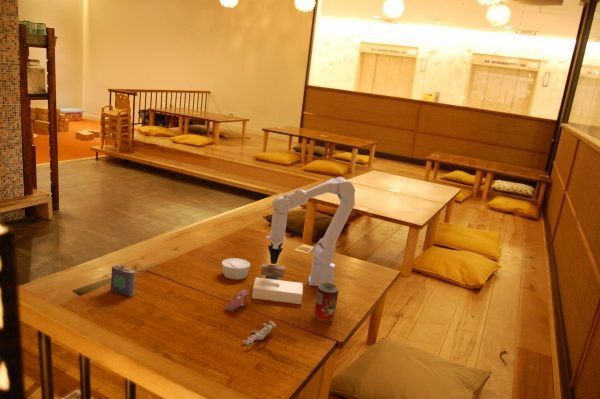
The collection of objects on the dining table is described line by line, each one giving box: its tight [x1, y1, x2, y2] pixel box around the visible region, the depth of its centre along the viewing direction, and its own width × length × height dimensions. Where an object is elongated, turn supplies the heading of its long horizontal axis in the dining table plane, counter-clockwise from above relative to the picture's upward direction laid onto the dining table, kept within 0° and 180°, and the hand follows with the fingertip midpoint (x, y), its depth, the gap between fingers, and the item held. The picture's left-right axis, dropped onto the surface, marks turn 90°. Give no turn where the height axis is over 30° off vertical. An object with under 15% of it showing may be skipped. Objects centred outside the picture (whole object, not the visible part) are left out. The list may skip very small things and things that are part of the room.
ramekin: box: [221, 257, 251, 281], centre depth 190 cm, size 11×11×5 cm
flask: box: [109, 263, 136, 298], centre depth 161 cm, size 9×3×11 cm, turn 68°
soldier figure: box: [242, 320, 277, 346], centre depth 145 cm, size 8×5×12 cm
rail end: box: [260, 263, 286, 280], centre depth 188 cm, size 9×3×6 cm, turn 89°
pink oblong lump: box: [224, 289, 250, 312], centre depth 164 cm, size 10×5×7 cm, turn 169°
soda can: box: [314, 283, 340, 324], centre depth 163 cm, size 7×7×12 cm
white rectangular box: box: [251, 277, 304, 305], centre depth 177 cm, size 18×10×4 cm, turn 89°
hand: (274, 260), depth 187 cm, fingers open, 7 cm apart
